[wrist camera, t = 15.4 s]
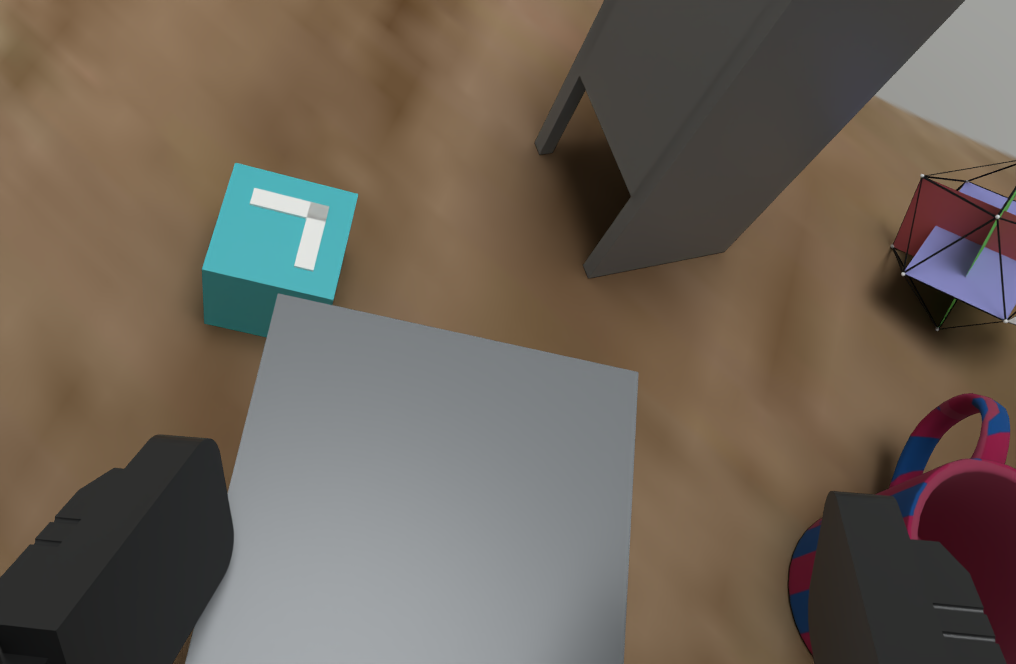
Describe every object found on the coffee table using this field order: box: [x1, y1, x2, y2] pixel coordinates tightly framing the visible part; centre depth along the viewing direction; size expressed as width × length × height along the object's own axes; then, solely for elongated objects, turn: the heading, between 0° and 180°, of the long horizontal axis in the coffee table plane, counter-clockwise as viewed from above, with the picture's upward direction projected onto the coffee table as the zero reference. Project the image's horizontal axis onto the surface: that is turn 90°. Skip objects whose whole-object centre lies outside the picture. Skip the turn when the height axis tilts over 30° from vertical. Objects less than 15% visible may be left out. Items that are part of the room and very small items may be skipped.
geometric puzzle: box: [891, 160, 1016, 331], centre depth 39 cm, size 7×7×8 cm
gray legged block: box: [185, 293, 638, 664], centre depth 22 cm, size 6×6×16 cm
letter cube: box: [202, 163, 358, 337], centre depth 31 cm, size 4×4×4 cm
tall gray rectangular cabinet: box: [535, 0, 965, 278], centre depth 32 cm, size 6×6×16 cm
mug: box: [789, 393, 1016, 664], centre depth 32 cm, size 7×10×7 cm
